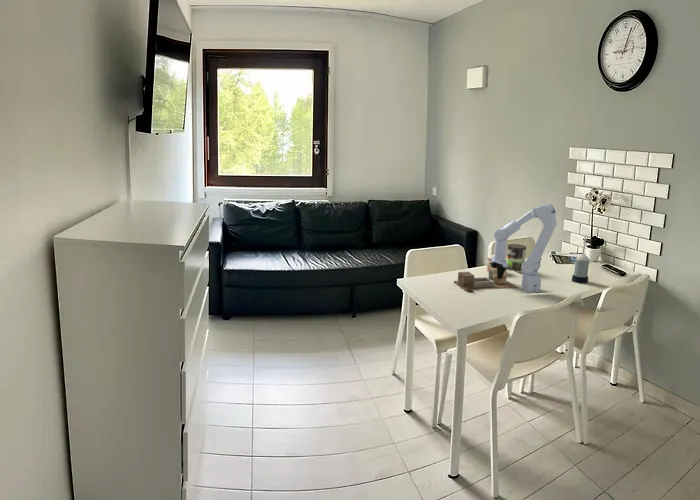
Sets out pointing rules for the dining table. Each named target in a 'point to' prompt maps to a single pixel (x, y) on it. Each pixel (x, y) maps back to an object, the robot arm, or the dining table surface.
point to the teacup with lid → (489, 263)
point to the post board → (479, 283)
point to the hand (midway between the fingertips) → (497, 277)
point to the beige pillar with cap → (494, 276)
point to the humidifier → (581, 268)
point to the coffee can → (515, 257)
